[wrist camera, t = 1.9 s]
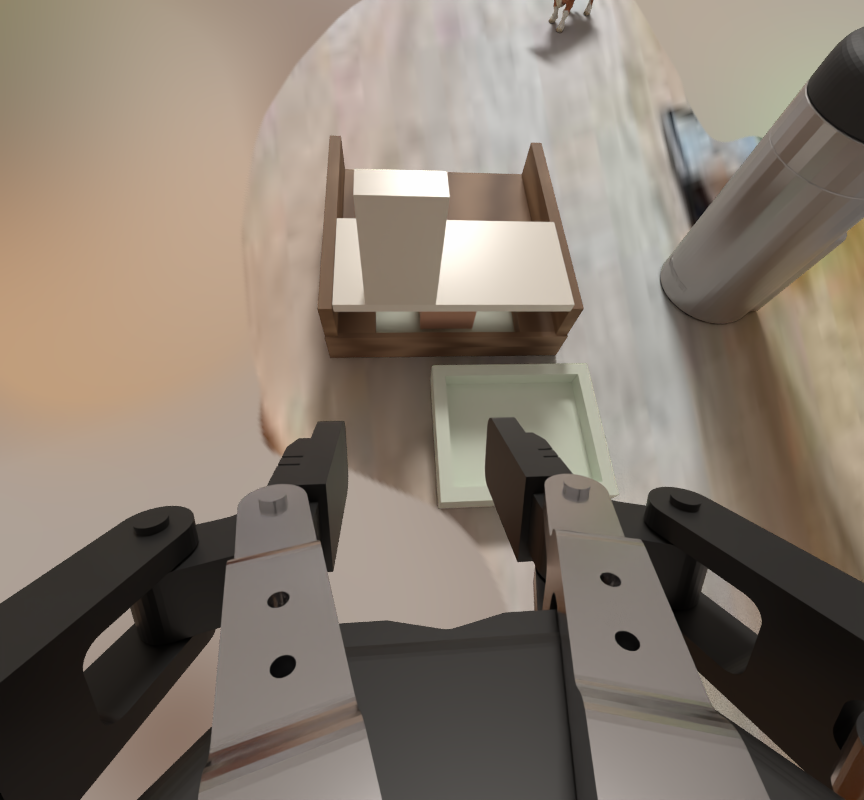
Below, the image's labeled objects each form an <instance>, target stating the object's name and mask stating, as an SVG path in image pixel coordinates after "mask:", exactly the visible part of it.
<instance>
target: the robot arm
mask: <svg viewBox="0 0 864 800" xmlns="http://www.w3.org/2000/svg"><path fill="white" fill-rule="evenodd" d="M863 218H864V27H862V28H860V29H857V30H855V31H854V32H852V33H850V34H849V35H848V36H846V37H845V38H844V39H843V40H842V41H841V42H839V43H838V44H837V46H836V47H835V48H834V49H833V50H832V51H831V52H830V54H829V55H828V56H827V57H826V58H825V60H824V61H823V62H822V64H821V65H820V66H819V67H818V69H817V70H816V71H815V73H814V74H813V75H812V76H811V78H810V79H809V80H808V81H807V83H806V84H805V85H804V86H803V88H802V89H801V90H800V91H799V93H798V94H797V95H796V97H795V98H794V99H793V100H792V102H791V103H790V104H789V106H788V107H787V108H786V109H785V110H784V112H783V113H782V114H781V116H780V117H779V118H778V119H777V121H776V122H775V123H774V125H773V126H772V127H771V128H770V130H769V131H768V132H767V133H766V135H765V136H764V137H763V138H762V140H761V141H760V142H759V144H758V145H757V146H756V147H755V149H754V150H753V151H752V152H751V154H750V155H749V156H748V157H747V159H746V160H745V161H744V163H743V164H742V165H741V166H740V168H739V169H738V170H737V171H736V173H735V174H734V175H733V176H732V178H731V179H730V180H729V182H728V183H727V184H726V185H725V187H724V188H723V189H722V190H721V192H720V193H719V194H718V195H717V197H716V198H715V199H714V201H713V202H712V203H711V204H710V206H709V207H708V208H707V209H706V211H705V212H704V213H703V214H702V216H701V217H700V218H699V220H698V221H697V222H696V223H695V225H694V226H693V227H692V228H691V230H690V231H689V232H688V233H687V235H686V236H685V237H684V239H683V240H682V241H681V242H680V244H679V245H678V246H677V247H676V249H675V250H674V251H673V253H672V254H671V255H670V256H669V258H668V259H667V260H666V262H665V263H664V264H663V266H662V269H661V277H660V279H661V283H662V287H663V289H664V291H665V293H666V294H667V296H668V297H669V298H670V300H671V301H672V302H673V303H674V304H675V305H676V306H677V307H678V308H680V309H681V310H682V311H684V312H685V313H687V314H688V315H690V316H692V317H694V318H696V319H699V320H702V321H705V322H710V323H716V324H724V323H730V322H734V321H736V320H738V319H740V318H742V317H743V316H744V315H746V314H747V313H748V312H749V311H758V310H759V309H760V308H761V307H763V306H764V305H765V304H766V303H768V302H769V301H770V300H771V299H773V298H774V297H775V296H776V295H778V294H779V293H780V292H781V291H783V290H784V289H785V288H786V287H788V286H789V285H790V284H791V283H793V282H794V281H795V280H796V279H797V278H799V277H800V276H801V275H802V274H804V273H805V272H806V271H807V270H809V269H810V268H811V267H812V266H814V265H815V264H816V263H817V262H819V261H820V260H821V259H822V258H824V257H825V256H826V255H827V254H829V253H830V252H831V251H832V250H833V249H835V248H836V247H837V246H838V245H840V244H841V243H842V242H843V241H844V240H845V239H846V237H847V233H846V232H847V231H848V230H849V229H851V228H852V227H853V226H854V225H855V224H857V223H858V222H859V221H860V220H861V219H863ZM485 479H486V484H487V487H488V490H489V492H490V495H491V497H492V500H493V502H494V505H495V507H496V510H497V512H498V515H499V517H500V520H501V522H502V525H503V527H504V530H505V532H506V535H507V537H508V539H509V542H510V544H511V547H512V549H513V552H514V554H515V557H516V559H517V562H527V561H533V562H534V564H535V571H534V580H533V587H534V611H523V612H508V613H502V614H499V615H496V616H492V617H489V618H486V619H483V620H480V621H476V622H473V623H470V624H467V625H464V626H460V627H457V628H453V629H438V628H432V627H425V626H419V625H412V624H406V623H399V622H393V621H373V622H358V623H342V624H339V622H338V618H337V614H336V609H335V604H334V600H333V595H332V591H331V587H330V582H329V578H328V573H327V572H333V570H334V564H335V559H336V553H337V547H338V542H339V536H340V530H341V524H342V519H343V513H344V507H345V502H346V497H347V489H348V462H347V446H346V430H345V423H344V421H320V422H317V425H316V427H315V430H314V432H313V434H312V437H311V438H299V439H298V440H296V441H295V442H293V443H292V444H290V445H289V446H288V447H287V448H286V450H285V452H284V454H283V456H282V458H281V460H280V462H279V464H278V466H277V468H276V470H275V471H274V473H273V475H272V477H271V479H270V481H269V483H268V485H267V486H266V487H262V488H260V489H257V490H255V491H253V492H251V493H249V494H248V495H246V496H245V497H244V498H243V499H242V500H241V501H240V502H239V504H238V508H237V514H236V515H234V516H231V517H227V518H224V519H219V520H215V521H211V522H206V523H201V524H197V525H196V524H195V519H194V515H193V513H192V511H191V510H189V509H187V508H185V507H181V506H165V507H159V508H154V509H150V510H147V511H144V512H141V513H138V514H136V515H134V516H132V517H130V518H128V519H126V520H125V521H123V522H121V523H120V524H118V525H117V526H116V527H114V528H112V529H111V530H110V531H108V532H106V533H105V534H104V535H102V536H100V537H99V538H98V539H96V540H95V541H93V542H92V543H90V544H89V545H87V546H86V547H84V548H83V549H81V550H80V551H78V552H77V553H75V554H74V555H72V556H71V557H69V558H68V559H66V560H65V561H63V562H62V563H60V564H59V565H57V566H56V567H54V568H53V569H51V570H50V571H49V572H47V573H45V574H44V575H42V576H41V577H39V578H38V579H36V580H35V581H33V582H32V583H31V584H29V585H27V586H26V587H25V588H23V589H22V590H20V591H19V592H17V593H16V594H14V595H13V596H11V597H9V598H8V599H7V600H5V601H3V602H2V603H0V800H80V799H81V798H82V796H83V795H84V794H85V793H86V792H87V791H88V789H89V788H90V787H91V785H92V784H93V783H94V782H95V781H96V780H97V778H98V777H99V776H100V775H101V773H102V772H103V771H104V770H105V769H106V767H107V766H108V765H109V764H110V762H111V761H112V760H113V759H114V758H115V756H116V755H117V754H118V753H119V751H120V750H121V749H122V748H123V746H124V745H125V744H126V743H127V742H128V740H129V739H130V738H131V737H132V735H133V734H134V733H135V732H136V731H137V729H138V728H139V727H140V726H141V724H142V723H143V722H144V721H145V720H146V718H147V717H148V716H149V714H150V713H151V712H152V711H153V710H154V709H155V707H156V706H157V705H158V704H159V702H160V701H161V700H162V699H163V698H164V696H165V695H166V694H167V693H168V691H169V690H170V689H171V688H172V686H173V685H174V684H175V683H176V682H177V680H178V679H179V678H180V677H181V675H182V674H183V673H184V672H185V671H186V669H187V668H188V667H189V666H190V664H191V663H192V662H193V661H194V660H195V658H196V657H197V656H198V655H199V653H200V652H201V651H202V649H203V648H204V647H205V646H206V645H207V643H208V642H209V641H210V640H211V638H212V637H213V635H214V633H215V629H217V628H220V627H221V632H220V642H219V654H218V665H217V677H216V688H215V701H214V711H213V723H212V727H211V728H210V729H209V730H208V731H207V732H206V733H205V734H204V735H203V736H202V737H201V738H199V739H198V740H197V741H196V742H195V743H194V744H193V745H192V746H191V747H190V748H189V749H188V750H187V751H186V752H185V753H184V754H183V755H182V756H181V757H180V758H179V759H178V760H177V761H176V762H175V763H174V764H173V765H172V766H171V767H170V768H169V769H168V770H167V771H166V772H165V773H164V774H163V775H162V776H161V777H160V778H159V779H158V780H157V781H156V782H155V783H154V784H153V785H152V786H150V787H149V788H148V789H147V790H146V791H145V792H144V793H143V794H142V795H141V796H140V797H139V798H138V799H137V800H864V583H863V582H861V581H859V580H857V579H855V578H853V577H852V576H850V575H848V574H846V573H844V572H842V571H840V570H839V569H837V568H835V567H833V566H831V565H829V564H828V563H826V562H824V561H822V560H820V559H818V558H817V557H815V556H813V555H811V554H809V553H807V552H806V551H804V550H802V549H800V548H798V547H796V546H795V545H793V544H791V543H789V542H787V541H785V540H784V539H782V538H780V537H778V536H776V535H774V534H773V533H771V532H769V531H767V530H765V529H763V528H761V527H760V526H758V525H756V524H754V523H752V522H750V521H749V520H747V519H745V518H743V517H741V516H739V515H738V514H736V513H734V512H732V511H730V510H728V509H727V508H725V507H723V506H721V505H719V504H717V503H716V502H714V501H712V500H710V499H708V498H706V497H704V496H702V495H700V494H698V493H695V492H692V491H689V490H685V489H681V488H675V487H660V488H656V489H653V490H652V491H650V493H649V495H648V499H647V504H646V506H645V505H638V504H631V503H624V502H618V501H613V500H611V498H610V495H609V492H608V491H607V489H606V488H605V487H604V486H603V485H602V484H600V483H599V482H597V481H595V480H593V479H591V478H588V477H585V476H581V475H576V474H573V473H572V472H571V471H570V469H569V468H568V467H567V466H566V464H565V463H564V462H563V461H562V459H561V458H560V457H558V455H557V453H556V452H555V451H554V450H553V449H552V447H551V446H550V445H549V443H548V442H547V441H546V440H545V439H544V438H542V437H540V436H538V435H536V434H535V433H533V432H527V433H526V432H525V431H524V429H523V428H522V427H521V425H520V424H519V422H518V421H517V420H516V418H515V417H497V418H489V420H488V424H487V438H486V454H485ZM707 569H710V570H711V571H712V572H714V573H715V574H717V575H718V576H720V577H721V578H722V579H724V580H725V581H727V582H728V583H730V584H731V585H733V586H734V587H735V588H737V589H738V590H740V591H741V592H743V593H744V594H745V595H747V596H748V597H749V598H750V599H751V600H752V601H753V602H754V603H755V605H756V606H757V608H758V610H759V612H760V614H761V618H762V625H761V628H760V631H759V634H758V635H757V634H756V633H755V632H753V631H752V630H751V629H749V628H748V627H747V626H745V625H744V624H743V623H741V622H740V621H739V620H737V619H736V618H735V617H733V616H732V615H731V614H729V613H728V612H727V611H725V610H724V609H723V608H721V607H720V606H719V605H718V604H716V603H715V602H714V601H712V600H711V599H710V598H708V597H707V596H706V595H704V594H703V593H702V592H701V590H702V586H703V583H704V579H705V576H706V572H707ZM129 608H130V609H131V612H132V615H133V619H134V622H135V624H134V625H132V626H131V627H130V628H129V629H128V630H127V631H126V632H125V633H124V634H123V635H122V636H121V637H120V638H119V639H118V640H117V641H116V642H115V643H113V644H112V645H111V646H110V647H109V648H108V649H107V650H106V651H105V652H104V653H103V654H102V655H101V656H100V657H99V658H98V659H97V660H96V661H95V662H94V663H92V664H91V665H90V666H89V667H88V668H87V669H86V670H85V671H84V672H83V662H84V658H85V656H86V653H87V651H88V649H89V647H90V646H91V644H92V643H93V642H94V640H95V639H96V638H97V637H98V636H99V635H100V634H101V633H102V632H103V631H104V630H105V629H107V628H108V627H109V626H110V625H111V624H112V623H113V622H115V621H116V620H117V619H118V618H119V617H120V616H121V615H122V614H123V613H125V612H126V611H127V610H128V609H129ZM698 672H699V673H700V674H701V675H703V676H704V677H705V678H706V679H707V680H708V681H709V682H710V683H711V684H712V685H713V686H714V687H715V688H716V689H718V690H719V691H720V692H721V693H722V694H723V695H724V696H725V697H726V698H727V699H728V700H729V701H730V702H731V703H732V704H734V705H735V706H736V707H737V708H738V709H739V710H740V711H741V712H742V713H743V714H744V715H745V716H746V717H747V718H748V719H750V720H751V721H752V722H753V723H754V724H755V725H756V726H757V727H758V728H759V729H760V730H761V731H762V732H763V733H765V734H766V735H767V736H768V737H769V738H770V739H771V740H772V741H773V742H774V743H775V744H776V745H777V746H778V747H779V748H781V749H782V750H783V751H784V752H785V753H786V754H787V755H788V756H789V757H790V758H791V759H792V760H793V761H794V762H796V763H797V764H798V765H799V766H800V767H801V768H802V769H803V770H804V771H803V770H802V769H800V768H799V767H797V766H796V765H795V764H793V763H792V762H790V761H789V760H787V759H786V758H784V757H783V756H782V755H780V754H779V753H777V752H776V751H774V750H773V749H771V748H770V747H768V746H767V745H766V744H764V743H763V742H761V741H760V740H758V739H757V738H755V737H754V736H753V735H751V734H750V733H748V732H747V731H745V730H744V729H742V728H741V727H739V726H738V725H737V724H735V723H734V722H732V721H731V720H729V719H728V718H726V717H725V716H724V715H722V714H721V713H719V712H718V711H716V710H715V709H714V707H713V706H712V704H711V702H710V700H709V697H708V695H707V693H706V690H705V688H704V686H703V683H702V681H701V678H700V676H699V674H698Z"/></svg>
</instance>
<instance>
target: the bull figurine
mask: <svg viewBox="0 0 864 800" xmlns="http://www.w3.org/2000/svg"><path fill="white" fill-rule="evenodd" d="M574 1H575V0H554V12H553V14H552V16H551V18H550V19H549V22H550V23H554V22H555V21H556V19H557V18H558V9H559V8H560V7H562V6H564V5H565V4H566V7H565V9H564V10H563V16H562V20H561V21H560V23H559V25H558V27H557V29H556V31H557V32H559V33H562V31H563V29H564V27H565V19H566V18H567V16H568V15H569V12H570V10H571V8H572V7H573V3H574ZM592 3H593V0H589V3H588V5H587V7H586V9H585V11H584V13H583V14H584V15H589V14H590V12H591V9H592Z"/></svg>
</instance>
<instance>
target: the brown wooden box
mask: <svg viewBox="0 0 864 800" xmlns="http://www.w3.org/2000/svg"><path fill="white" fill-rule="evenodd" d="M447 176H448V186H449V195H450V198H449V206H448V214H447V220H466V221H521V222H554V223H555V227H556V231H557V235H558V240H559V244H560V248H561V252H562V256H563V260H564V264H565V268H566V272H567V276H568V280H569V284H570V288H571V292H572V296H573V301H574V306H573V308H572V310H571V311H488V312H476V316H475V320H474V323H473V327H472V329H420V314H419V312H334V310H333V306H332V301H333V282H334V263H335V244H336V225H337V218H355V219H356V214H355V205H354V196H353V190H354V170H350V169H345V166H344V157H343V149H342V141H341V136H330V141H329V155H328V169H327V183H326V197H325V211H324V225H323V239H322V254H321V268H320V282H319V296H318V312H319V316H320V320H321V323H322V327H323V330H324V334H325V340H326V344H327V347H328V351H329V355H330V358H346V357H437V356H527V355H556V354H557V352H558V351H559V349H560V348H561V346H562V345H563V343H564V341H565V340H566V338H567V337H568V336H567V334H568V333H569V331H570V329H571V328H572V326H573V325H574V323H575V322H576V320H577V318H578V317H579V315H580V314H581V312H582V311H583V309H584V308H583V304H582V300H581V296H580V292H579V288H578V284H577V281H576V277H575V273H574V269H573V265H572V261H571V257H570V253H569V249H568V245H567V242H566V238H565V234H564V230H563V226H562V222H561V218H560V214H559V210H558V206H557V202H556V199H555V195H554V191H553V187H552V183H551V179H550V175H549V171H548V167H547V163H546V159H545V156H544V152H543V148H542V144H541V143H531V145H530V148H529V152H528V155H527V159H526V162H525V166H524V169H523V173H522V174H492V173H456V172H447Z"/></svg>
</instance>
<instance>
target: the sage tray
mask: <svg viewBox="0 0 864 800" xmlns="http://www.w3.org/2000/svg"><path fill="white" fill-rule="evenodd" d="M430 384H431V401H432V417H433V433H434V449H435V465H436V481H437V497H438V509H445V508H468V507H491V506H495V505H494V502H493V500H492V497H491V495H490V492H489V490H488V487H487V484H486V479H485V454H486V438H487V424H488V420H489V418H497V417H515V418H516V420H517V421H518V422H519V424H520V425H521V427H522V428H523V429H524V431H525V432H526V433H527V432H533V433H535V434H536V435H538V436H540V437H542V438H544V439H545V440H546V441H547V442H548V443H549V445H550V446H551V447H552V449H553V450H554V451H555V452H556V453H557V455H558V457H560V458H561V459H562V461H563V462H564V463H565V464H566V466H567V467H568V468H569V469H570V471H571V472H572V473H573V474H576V475H581V476H585V477H588V478H591V479H593V480H595V481H597V482H599V483H600V484H602V485H603V486H604V487H605V488H606V489H607V491H608V492H609V495H610V498H614V497H616V496H618V495H619V492H618V488H617V484H616V480H615V476H614V472H613V468H612V463H611V459H610V455H609V451H608V447H607V443H606V439H605V435H604V431H603V426H602V422H601V418H600V414H599V410H598V406H597V402H596V398H595V394H594V390H593V385H592V381H591V377H590V373H589V369H588V365H587V363H569V364H491V365H432V369H431V376H430Z"/></svg>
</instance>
